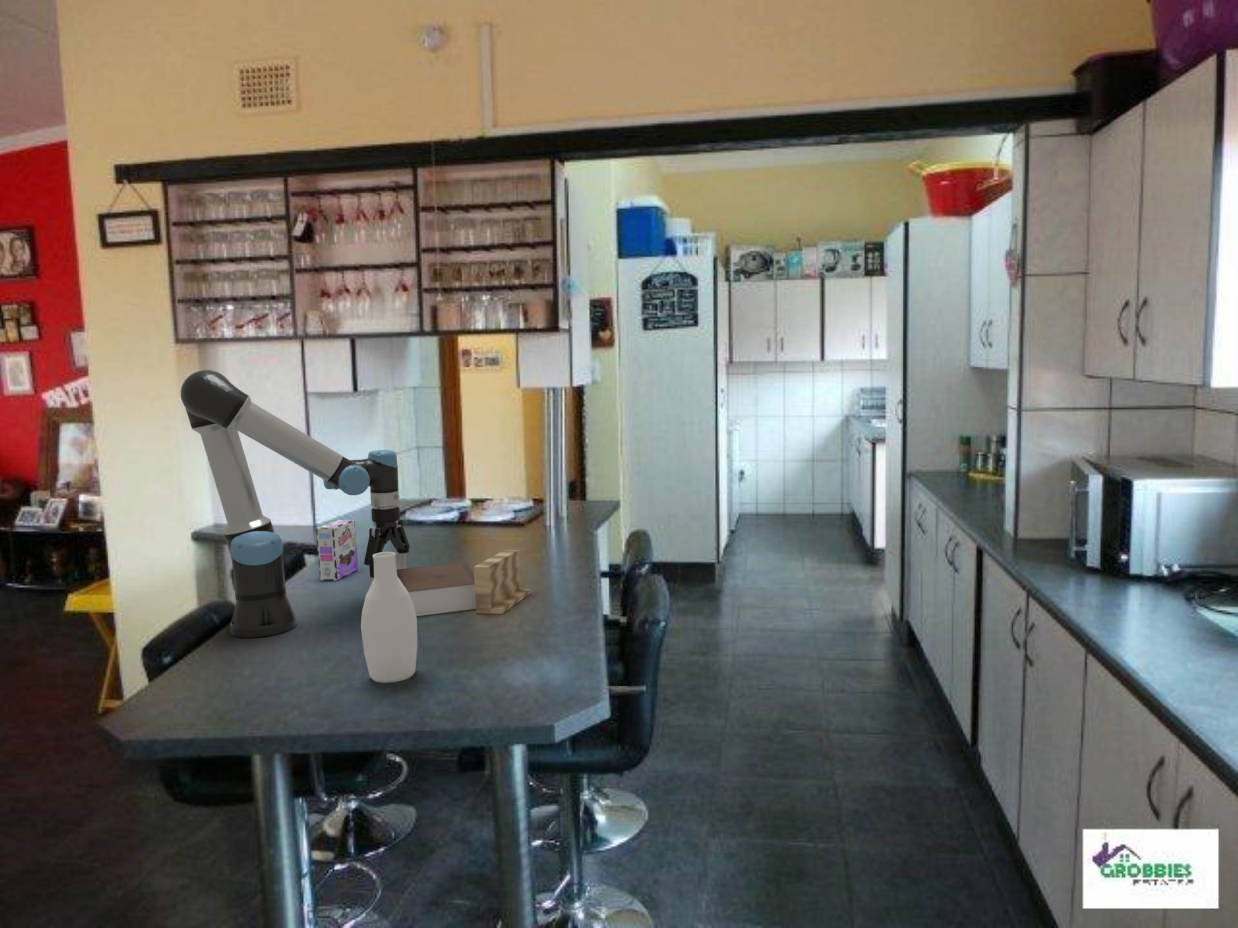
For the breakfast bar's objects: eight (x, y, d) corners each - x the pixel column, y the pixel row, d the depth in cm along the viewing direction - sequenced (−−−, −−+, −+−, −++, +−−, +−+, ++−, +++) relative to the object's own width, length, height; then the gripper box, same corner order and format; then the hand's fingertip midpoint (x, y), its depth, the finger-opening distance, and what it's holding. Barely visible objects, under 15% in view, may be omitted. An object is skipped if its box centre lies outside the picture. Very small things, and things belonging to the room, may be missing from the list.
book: (387, 620, 224) (385, 594, 224) (380, 594, 251) (378, 571, 250) (483, 608, 232) (482, 583, 231) (467, 583, 258) (465, 561, 258)
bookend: (501, 614, 225) (499, 567, 224) (475, 613, 227) (472, 566, 226) (530, 593, 244) (528, 550, 243) (506, 592, 246) (503, 549, 245)
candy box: (337, 581, 268) (332, 527, 266) (319, 581, 269) (314, 527, 267) (359, 570, 281) (355, 519, 279) (342, 570, 282) (338, 519, 280)
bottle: (425, 664, 189) (417, 547, 186) (414, 683, 178) (406, 558, 175) (372, 667, 189) (363, 549, 186) (358, 686, 178) (348, 561, 175)
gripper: (373, 515, 231) (377, 595, 234) (419, 499, 255) (422, 571, 258) (347, 514, 233) (352, 593, 236) (396, 498, 257) (399, 570, 260)
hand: (389, 582), depth 247 cm, fingers open, 13 cm apart
